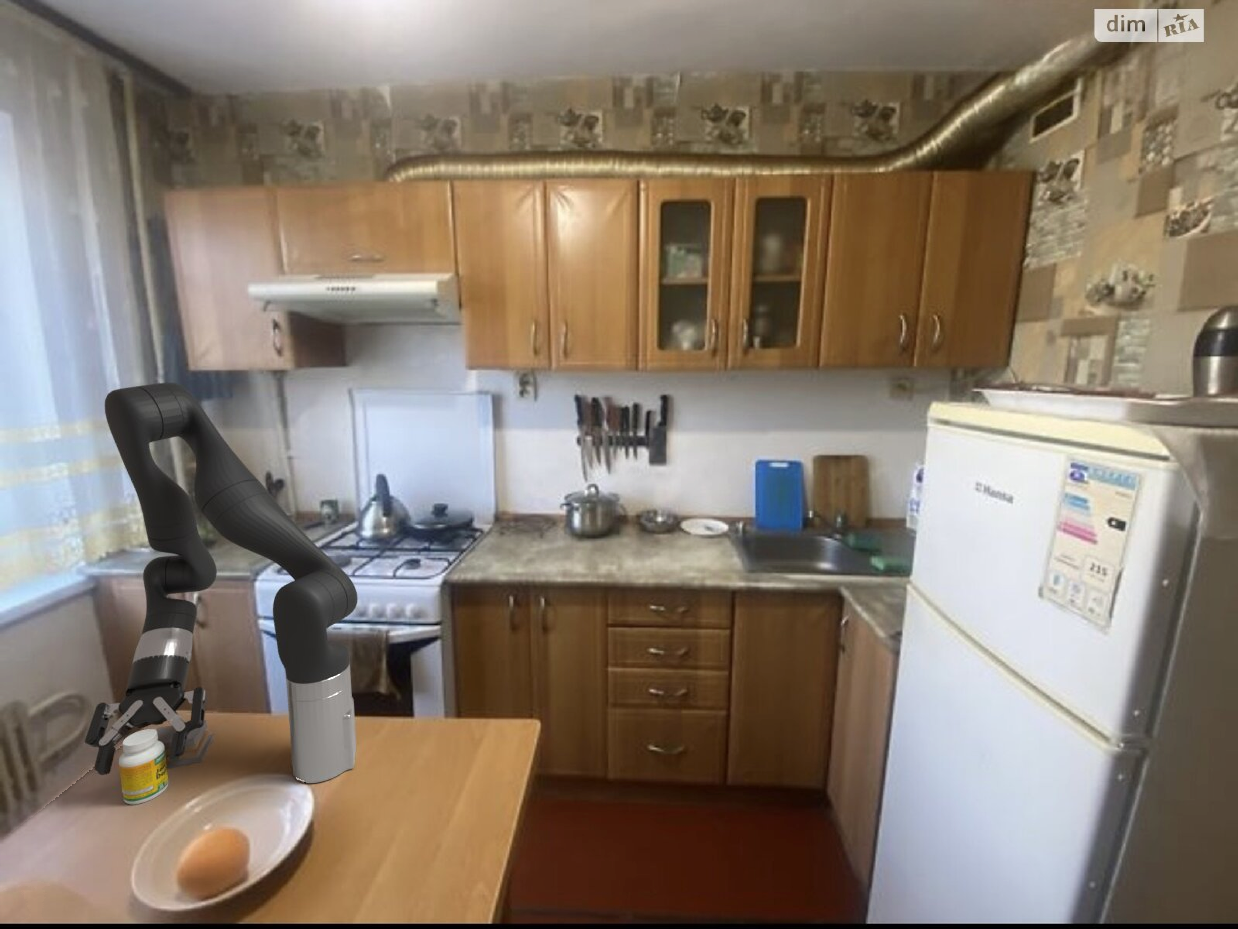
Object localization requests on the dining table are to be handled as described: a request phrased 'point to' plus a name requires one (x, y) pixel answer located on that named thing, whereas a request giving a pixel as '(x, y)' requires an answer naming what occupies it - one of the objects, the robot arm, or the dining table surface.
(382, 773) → the dining table surface
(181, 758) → the offcut stack
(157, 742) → the supplement bottle
